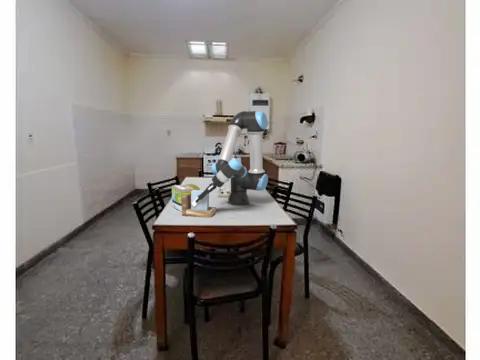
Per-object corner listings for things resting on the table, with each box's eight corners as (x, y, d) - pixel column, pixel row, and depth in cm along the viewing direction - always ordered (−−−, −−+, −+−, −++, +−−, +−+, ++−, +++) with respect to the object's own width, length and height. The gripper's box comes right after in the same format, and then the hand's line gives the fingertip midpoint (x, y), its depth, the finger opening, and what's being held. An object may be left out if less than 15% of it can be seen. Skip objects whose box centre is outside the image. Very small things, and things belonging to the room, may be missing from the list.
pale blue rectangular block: (193, 208, 209) (193, 189, 208) (209, 209, 207) (209, 190, 206) (191, 210, 205) (191, 191, 203) (206, 211, 203) (207, 192, 201)
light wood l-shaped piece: (188, 211, 214) (188, 192, 212) (215, 212, 211) (216, 194, 209) (182, 215, 203) (181, 196, 201) (210, 217, 199) (210, 197, 197)
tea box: (171, 207, 225) (171, 185, 222) (185, 205, 230) (185, 184, 228) (180, 211, 212) (180, 188, 210) (194, 210, 218) (194, 187, 216)
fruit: (194, 206, 227) (183, 187, 224) (181, 210, 236) (170, 192, 233) (208, 195, 239) (198, 177, 236) (195, 200, 248) (185, 182, 245)
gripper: (221, 185, 192) (193, 211, 198) (227, 181, 209) (202, 205, 215) (212, 176, 193) (185, 202, 198) (219, 172, 210) (194, 197, 215)
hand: (194, 204), depth 206 cm, fingers closed on pale blue rectangular block, 4 cm apart
